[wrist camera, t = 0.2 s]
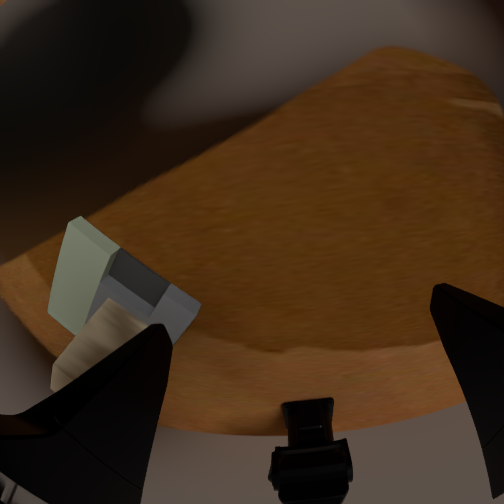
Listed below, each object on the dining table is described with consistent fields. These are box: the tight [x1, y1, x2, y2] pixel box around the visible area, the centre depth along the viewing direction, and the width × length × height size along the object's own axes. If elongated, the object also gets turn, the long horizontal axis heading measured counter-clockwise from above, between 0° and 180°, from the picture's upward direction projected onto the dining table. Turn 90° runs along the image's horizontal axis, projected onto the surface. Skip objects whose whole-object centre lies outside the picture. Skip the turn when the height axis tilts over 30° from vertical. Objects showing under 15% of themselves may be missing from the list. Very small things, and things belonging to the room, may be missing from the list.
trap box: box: [48, 216, 201, 345], centre depth 26 cm, size 15×14×2 cm
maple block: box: [51, 298, 148, 392], centre depth 21 cm, size 7×5×10 cm
